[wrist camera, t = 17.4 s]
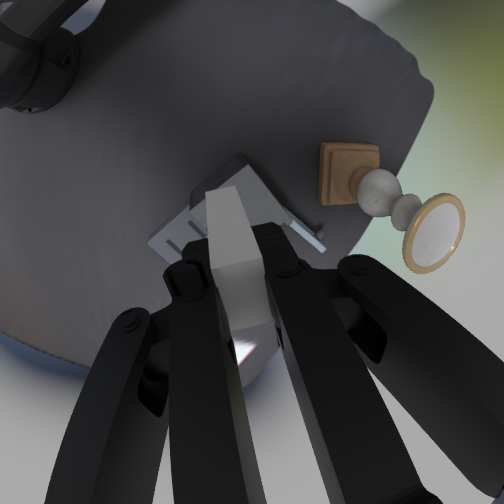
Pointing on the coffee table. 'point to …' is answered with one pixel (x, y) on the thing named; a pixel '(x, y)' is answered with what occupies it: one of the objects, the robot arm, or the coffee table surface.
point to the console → (176, 234)
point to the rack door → (306, 231)
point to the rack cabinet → (240, 193)
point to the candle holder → (391, 203)
